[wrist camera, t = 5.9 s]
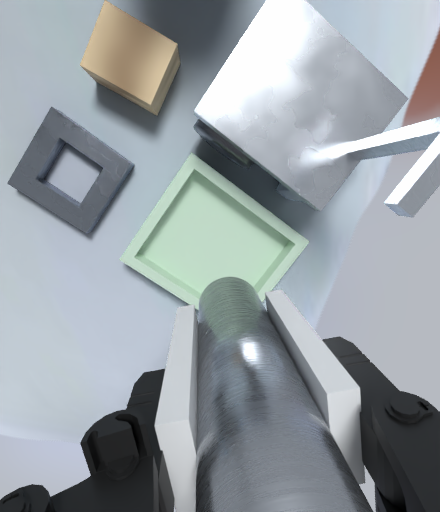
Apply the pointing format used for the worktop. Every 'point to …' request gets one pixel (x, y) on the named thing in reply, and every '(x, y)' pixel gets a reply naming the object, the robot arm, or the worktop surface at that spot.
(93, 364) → the worktop surface
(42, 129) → the collar
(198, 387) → the pin
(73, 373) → the worktop surface
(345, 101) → the trolley
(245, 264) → the tray
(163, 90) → the block
